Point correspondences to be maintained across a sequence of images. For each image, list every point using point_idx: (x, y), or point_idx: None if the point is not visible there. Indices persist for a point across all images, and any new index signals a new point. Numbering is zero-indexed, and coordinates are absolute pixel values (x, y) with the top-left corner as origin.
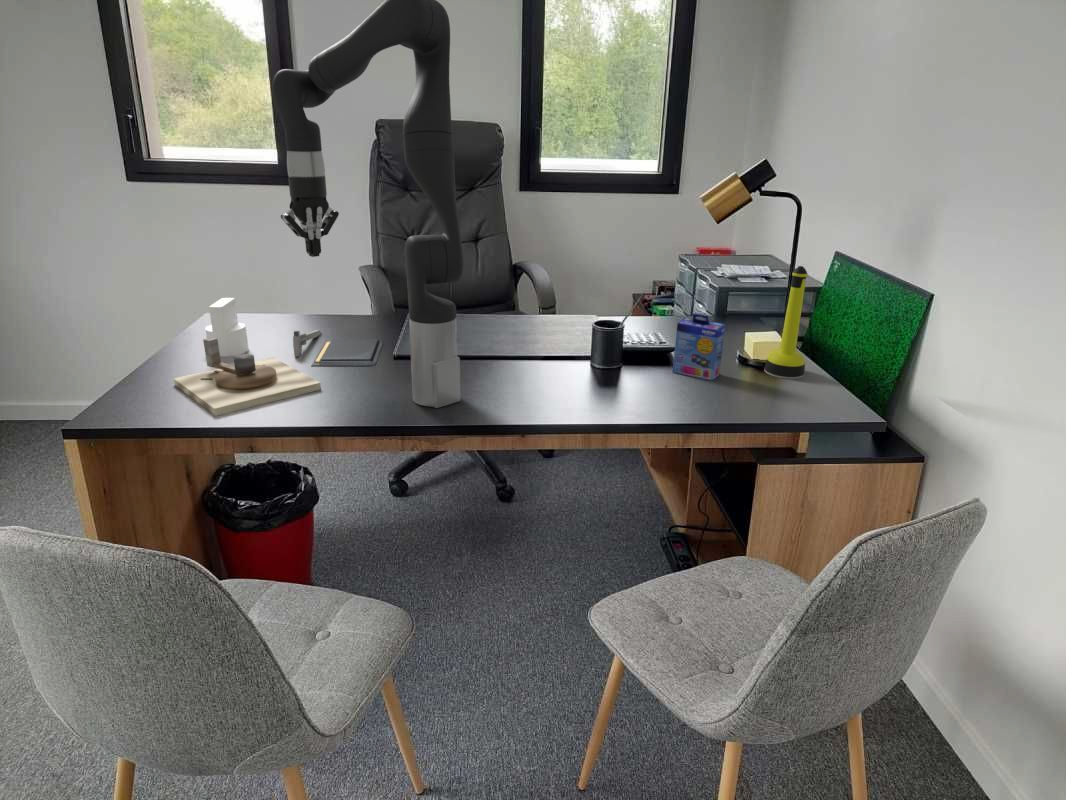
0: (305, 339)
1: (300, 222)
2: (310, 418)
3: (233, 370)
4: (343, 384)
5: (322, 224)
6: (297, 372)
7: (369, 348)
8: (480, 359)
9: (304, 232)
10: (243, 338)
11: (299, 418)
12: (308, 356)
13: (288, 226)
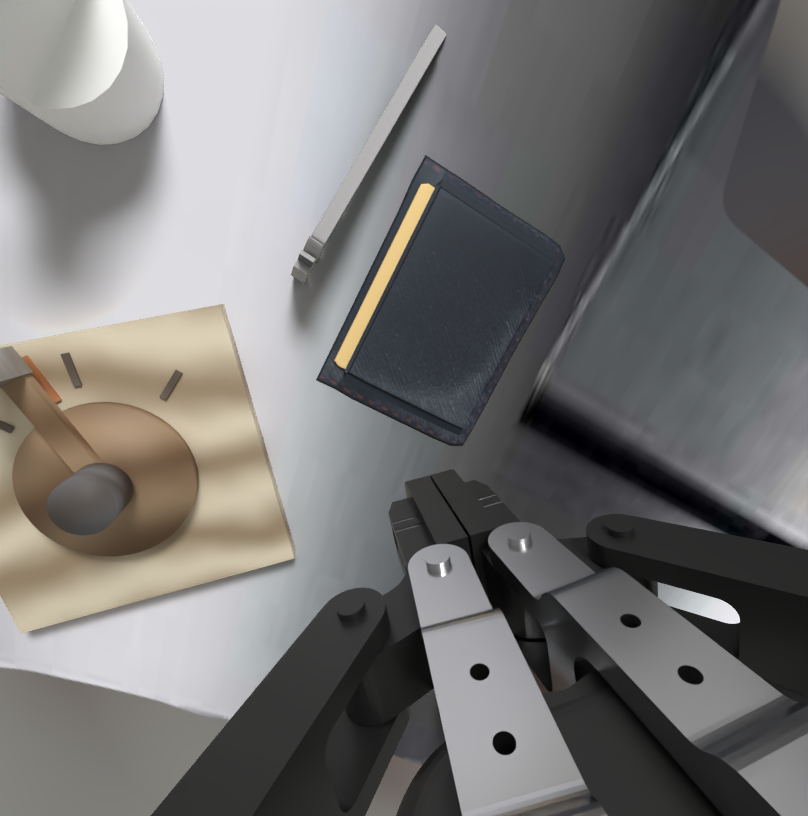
0: (349, 202)
1: (433, 683)
2: (234, 686)
3: (67, 462)
4: (351, 536)
5: (703, 592)
6: (259, 468)
7: (496, 343)
8: (668, 500)
9: (398, 729)
10: (126, 106)
11: (213, 680)
12: (333, 285)
13: (212, 741)
